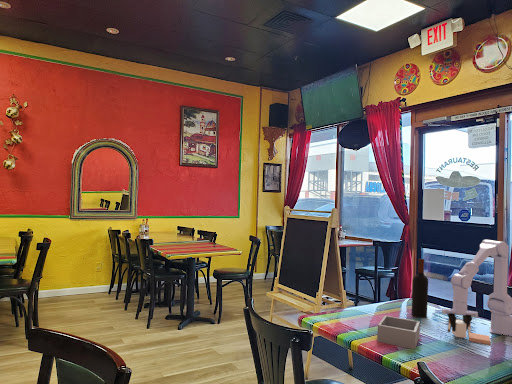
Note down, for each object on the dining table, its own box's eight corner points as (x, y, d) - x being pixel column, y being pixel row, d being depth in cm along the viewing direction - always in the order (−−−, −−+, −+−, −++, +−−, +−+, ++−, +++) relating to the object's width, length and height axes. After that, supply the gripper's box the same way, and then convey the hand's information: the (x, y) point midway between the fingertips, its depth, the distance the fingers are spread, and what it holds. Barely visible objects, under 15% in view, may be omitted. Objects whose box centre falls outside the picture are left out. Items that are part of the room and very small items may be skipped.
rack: (470, 327, 194) (470, 321, 194) (470, 335, 181) (471, 328, 181) (448, 323, 198) (448, 317, 198) (447, 331, 186) (447, 324, 186)
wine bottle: (412, 316, 207) (414, 259, 208) (410, 312, 215) (413, 257, 215) (427, 318, 205) (430, 260, 206) (426, 314, 212) (428, 258, 213)
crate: (419, 337, 175) (419, 321, 175) (415, 349, 160) (415, 331, 160) (384, 330, 182) (384, 315, 182) (377, 341, 167) (377, 324, 167)
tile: (489, 339, 177) (489, 335, 177) (490, 344, 170) (490, 341, 170) (468, 335, 181) (468, 332, 181) (469, 340, 174) (469, 337, 174)
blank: (461, 333, 182) (461, 320, 182) (465, 337, 176) (466, 324, 176) (451, 332, 182) (452, 319, 182) (456, 336, 176) (456, 323, 176)
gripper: (474, 300, 182) (472, 329, 182) (440, 297, 184) (439, 326, 184) (480, 304, 175) (478, 335, 175) (445, 301, 177) (444, 331, 177)
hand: (459, 331), depth 179 cm, fingers closed on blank, 4 cm apart
